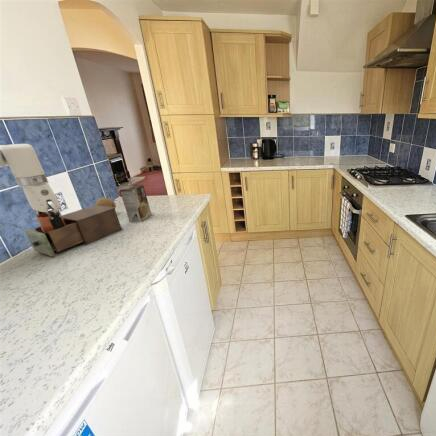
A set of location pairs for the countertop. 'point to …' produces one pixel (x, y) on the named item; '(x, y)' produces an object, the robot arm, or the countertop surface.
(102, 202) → the natural sponge
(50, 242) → the drawer
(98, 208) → the cabinet
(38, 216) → the ramekin
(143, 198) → the coffee box
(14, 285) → the countertop surface
